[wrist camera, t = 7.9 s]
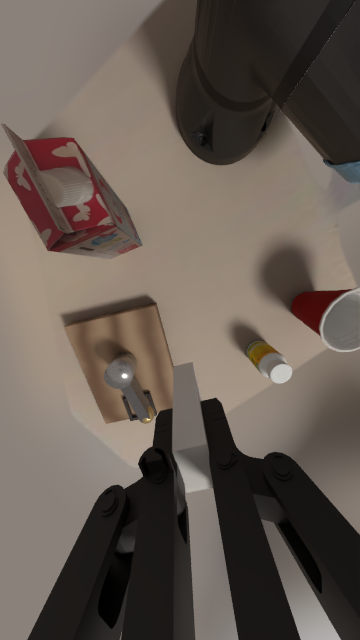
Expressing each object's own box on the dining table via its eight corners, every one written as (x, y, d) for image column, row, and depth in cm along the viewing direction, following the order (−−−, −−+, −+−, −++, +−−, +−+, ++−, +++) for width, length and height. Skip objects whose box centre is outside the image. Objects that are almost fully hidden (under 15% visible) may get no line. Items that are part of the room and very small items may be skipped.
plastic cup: (272, 325, 40) (312, 349, 29) (288, 276, 38) (340, 280, 26) (317, 333, 41) (373, 359, 30) (336, 285, 39) (407, 293, 27)
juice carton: (126, 208, 33) (45, 102, 12) (142, 245, 35) (97, 211, 14) (93, 223, 33) (-43, 146, 12) (110, 258, 35) (19, 247, 14)
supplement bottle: (273, 350, 42) (302, 373, 33) (255, 365, 43) (278, 392, 34) (259, 335, 41) (284, 354, 32) (241, 351, 42) (260, 374, 33)
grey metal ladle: (107, 357, 37) (98, 370, 32) (130, 348, 37) (124, 360, 32) (141, 413, 41) (137, 432, 36) (161, 405, 41) (160, 423, 36)
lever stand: (156, 302, 38) (154, 306, 34) (181, 397, 45) (182, 409, 41) (72, 322, 38) (61, 328, 34) (110, 413, 45) (104, 426, 41)
